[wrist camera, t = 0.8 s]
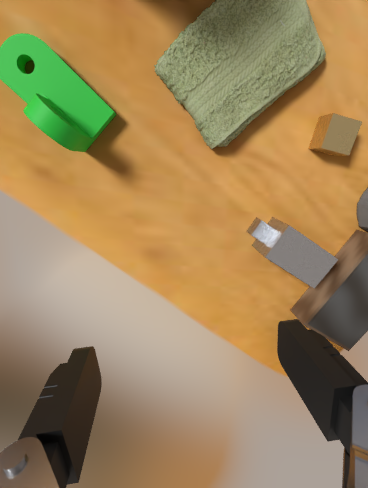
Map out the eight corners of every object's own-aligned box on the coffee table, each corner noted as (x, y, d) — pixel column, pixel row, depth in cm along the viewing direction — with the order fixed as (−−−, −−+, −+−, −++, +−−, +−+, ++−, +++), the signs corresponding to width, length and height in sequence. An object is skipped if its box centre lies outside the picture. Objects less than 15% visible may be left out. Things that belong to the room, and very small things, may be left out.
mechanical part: (116, 114, 32) (103, 100, 24) (85, 152, 33) (63, 149, 25) (29, 28, 28) (-18, -21, 21) (-3, 72, 29) (-59, 42, 22)
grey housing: (261, 209, 37) (277, 217, 32) (325, 254, 40) (348, 266, 35) (241, 238, 38) (253, 249, 33) (305, 279, 41) (324, 295, 36)
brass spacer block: (318, 117, 34) (333, 113, 31) (345, 124, 35) (362, 121, 32) (307, 148, 35) (321, 147, 32) (333, 155, 36) (349, 155, 33)
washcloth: (324, 60, 32) (342, 50, 29) (213, 156, 34) (218, 156, 31) (267, -51, 28) (281, -76, 25) (146, 65, 31) (145, 55, 28)
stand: (356, 229, 39) (380, 237, 35) (398, 261, 42) (425, 272, 38) (290, 310, 43) (304, 326, 38) (332, 334, 45) (350, 352, 41)
